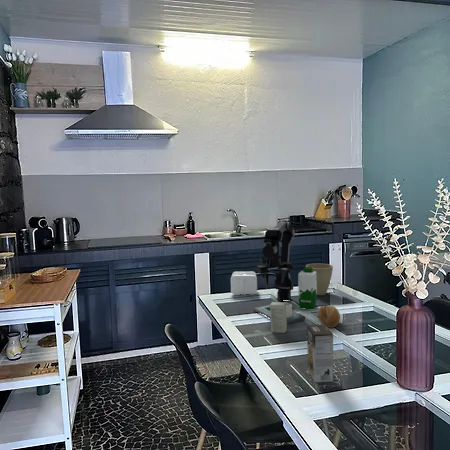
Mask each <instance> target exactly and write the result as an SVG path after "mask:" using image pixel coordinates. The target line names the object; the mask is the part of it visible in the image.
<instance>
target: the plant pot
mask: <svg viewBox="0 0 450 450" xmlns="http://www.w3.org/2000/svg"><path fill="white" fill-rule="evenodd" d="M305 267H311V268H312V271H316V280H317V296H325V295H326V294H327V293H328V290H329V287H330V283H331V280H332V276H333V268H334V266H333V265H332V264H329V263H309V264H306V265H305Z"/></svg>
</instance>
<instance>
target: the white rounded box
mask: <svg viewBox="0 0 450 450" xmlns="http://www.w3.org/2000/svg"><path fill="white" fill-rule="evenodd" d="M256 273H257V272H256V271H233V272H232V274H231V277H230V293H231V294H232V295H235V296H241V295H246V294H250V295H249V296H253V295H255V294H257V293H258V277H257V274H256ZM240 294H241V295H240Z"/></svg>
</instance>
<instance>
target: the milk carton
mask: <svg viewBox="0 0 450 450" xmlns="http://www.w3.org/2000/svg"><path fill="white" fill-rule="evenodd" d="M297 276H298V277H297V279H298V281H297V284H298V286H297V287H298V288H297V289H298V307H300V308H305V309H304V310H308V309H315V308H316V306H317V300H318V299H317V297H318V295H317V280H316V271H312V268H311V267H306V266H305V267H303V270H301V271H299V272H298V275H297ZM300 308H299V309H300Z"/></svg>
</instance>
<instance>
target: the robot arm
mask: <svg viewBox="0 0 450 450" xmlns="http://www.w3.org/2000/svg"><path fill="white" fill-rule="evenodd" d="M264 234H265V235H264V240H263V244H265V246H263V248H262V255H263V256H264V257H260V258H259V265H256V266H255V273H258V274H260V275H261V276H262V278H263V281H264V283H265V284H264V285H265V286H266V287H268V286H269V278H270V277H269V276H270V275H269V271H272V270H278V269H279V270H278V272H276V274H275V279H274V285H275V286H274V287H275V290H277V293H276V296H277V298H276V300H277V301H278V302H281V301H283V300H290V301H289V302H291V301H293V298H292V290H294V283H293V281H292V276H291V275H290V272H291V271H292V270H293V269H294V264H293V263H292V262H290V253H291V251H290V250H291V244H292V243H293V242H294V240H295V239H294V238H295V236H296V232H295V229H294V226H292V225H291V224H289V222H288V221H279V222H278V223H277V225H275V226H274V227H268V228H267V229H266V231H265V233H264Z"/></svg>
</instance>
